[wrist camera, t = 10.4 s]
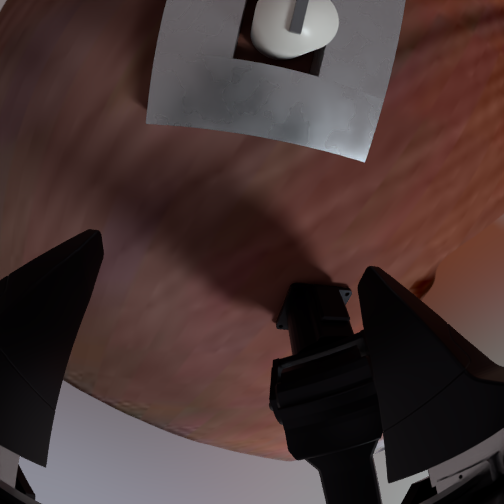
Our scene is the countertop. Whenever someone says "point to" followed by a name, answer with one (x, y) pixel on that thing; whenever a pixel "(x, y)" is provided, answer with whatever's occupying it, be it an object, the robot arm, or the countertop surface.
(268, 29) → the knob
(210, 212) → the countertop surface
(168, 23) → the plate
